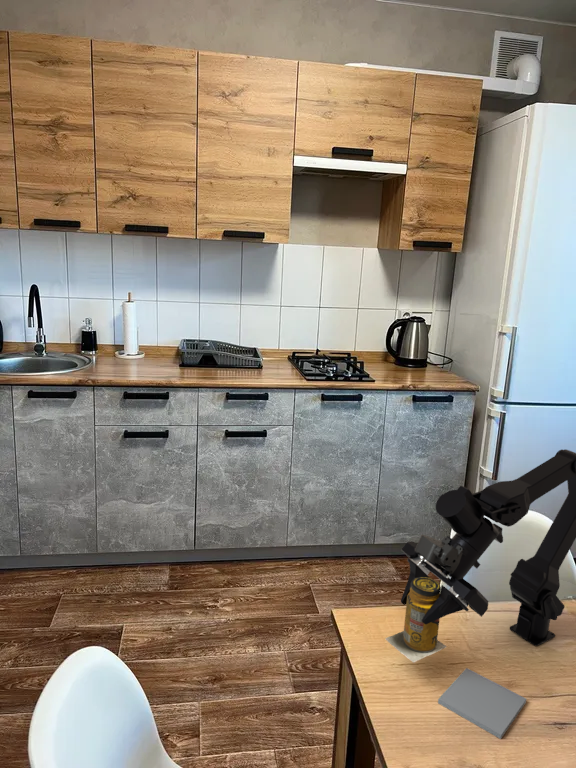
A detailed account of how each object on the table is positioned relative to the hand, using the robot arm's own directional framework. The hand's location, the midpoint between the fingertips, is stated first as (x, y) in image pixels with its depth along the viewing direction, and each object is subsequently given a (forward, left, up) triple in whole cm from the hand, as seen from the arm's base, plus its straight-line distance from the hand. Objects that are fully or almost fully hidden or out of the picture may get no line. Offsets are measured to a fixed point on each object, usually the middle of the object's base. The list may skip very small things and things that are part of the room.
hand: (412, 612), depth 106 cm
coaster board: (-6, +12, -12) cm, 18 cm away
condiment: (-1, 0, -7) cm, 7 cm away
